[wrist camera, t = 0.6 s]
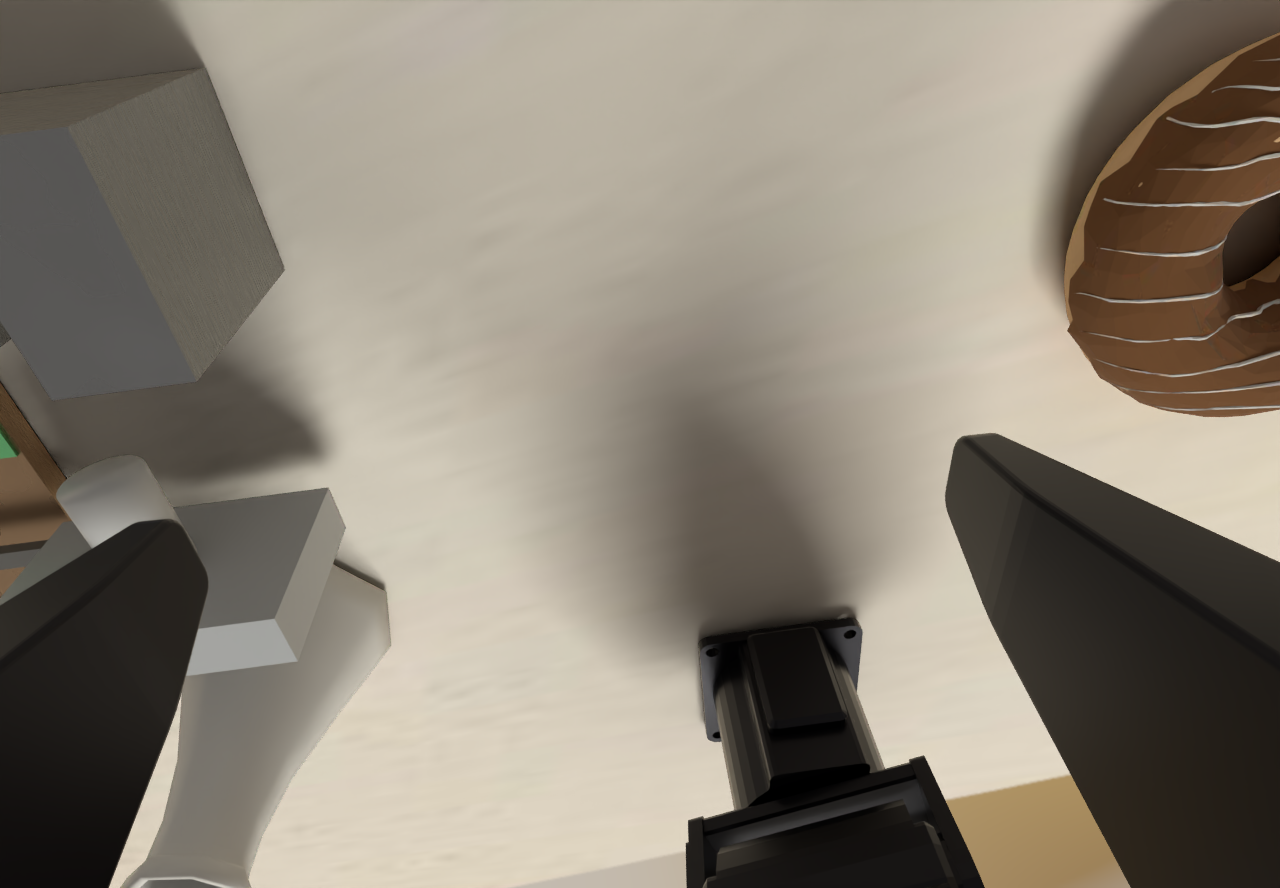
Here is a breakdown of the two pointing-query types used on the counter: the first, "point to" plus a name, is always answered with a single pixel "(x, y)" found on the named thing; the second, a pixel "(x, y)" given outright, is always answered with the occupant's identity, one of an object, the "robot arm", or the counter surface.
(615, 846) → the counter surface
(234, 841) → the flask
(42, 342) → the gauge housing
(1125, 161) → the donut
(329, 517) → the gauge plunger
